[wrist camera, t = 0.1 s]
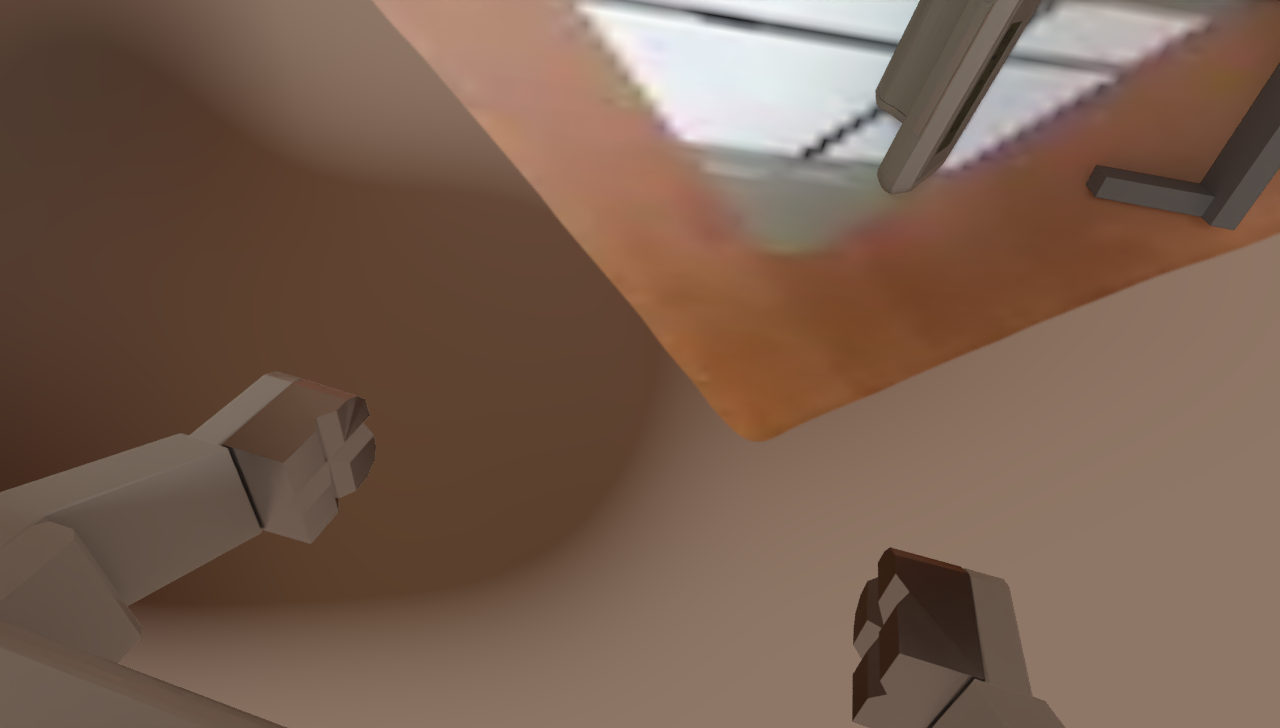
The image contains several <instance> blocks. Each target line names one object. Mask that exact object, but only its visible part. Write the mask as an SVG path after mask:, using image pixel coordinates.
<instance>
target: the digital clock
mask: <svg viewBox="0 0 1280 728" xmlns="http://www.w3.org/2000/svg"><path fill="white" fill-rule="evenodd" d="M1040 2H1041V0H920V1H919V3H918V5H917V7H916V9H915V11H914V14H913V16H912V18H911V20H910V22H909V24H908V26H907V28H906V30H905V32H904V34H903V36H902V38H901V40H900V42H899V44H898V46H897V48H896V50H895V52H894V54H893V56H892V58H891V60H890V62H889V64H888V66H887V68H886V71H885V73H884V75H883V77H882V79H881V81H880V83H879V85H878V87H877V89H876V103H877V105H878V107H879V108H881V109H882V110H884V111H886V112H888V113H890V114H891V115H893V116H894V117H895V118H897V119H898V120H899V121H900V122H902V123H903V124H902V125H901V127H900V129H899V131H898V133H897V135H896V137H895V139H894V140H893V142H892V144H891V146H890V148H889V150H888V152H887V154H886V156H885V157H884V159H883V161H882V163H881V165H880V167H879V169H878V179H879V182H880V184H881V187H882V188H883V189H884V190H885V191H886V192H888V193H890V194H897V193H903V192H907V191H911V190H912V189H913V188H915V187H916V186H917V185H918V184H920V183H921V182H922V181H923V180H925V179H926V178H927V177H928V176H929V175H931V174H932V173H933V172H934V171H936V170H937V169H938V168H939V167H940V166H941V165H942V164H943V163H944V161H945V160H946V158H947V157H948V155H949V154H950V152H951V150H952V149H953V147H954V145H955V144H956V142H957V140H958V139H959V137H960V135H961V134H962V132H963V130H964V129H965V127H966V125H967V124H968V122H969V120H970V119H971V117H972V115H973V114H974V112H975V110H976V109H977V107H978V105H979V104H980V102H981V100H982V99H983V97H984V95H985V94H986V92H987V90H988V89H989V87H990V85H991V84H992V82H993V80H994V79H995V77H996V75H997V74H998V72H999V70H1000V69H1001V67H1002V65H1003V64H1004V62H1005V60H1006V59H1007V57H1008V55H1009V54H1010V52H1011V50H1012V49H1013V47H1014V45H1015V44H1016V42H1017V40H1018V39H1019V37H1020V35H1021V34H1022V32H1023V30H1024V29H1025V27H1026V25H1027V24H1028V22H1029V20H1030V19H1031V17H1032V15H1033V14H1034V12H1035V10H1036V9H1037V7H1038V5H1039V4H1040Z"/></svg>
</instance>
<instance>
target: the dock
mask: <svg viewBox="0 0 1280 728" xmlns="http://www.w3.org/2000/svg"><path fill="white" fill-rule="evenodd" d="M1279 168H1280V64H1279V65H1278V67H1277V68H1276V70H1275V71H1274V73H1273V74H1272V76H1271V77H1270V79H1269V80H1268V82H1267V83H1266V85H1265V86H1264V88H1263V89H1262V91H1261V92H1260V94H1259V95H1258V97H1257V98H1256V100H1255V102H1254V103H1253V105H1252V106H1251V108H1250V109H1249V111H1248V112H1247V114H1246V115H1245V117H1244V118H1243V120H1242V121H1241V123H1240V124H1239V126H1238V127H1237V129H1236V130H1235V132H1234V133H1233V135H1232V136H1231V138H1230V140H1229V141H1228V143H1227V144H1226V146H1225V147H1224V149H1223V150H1222V152H1221V153H1220V155H1219V156H1218V158H1217V159H1216V161H1215V162H1214V164H1213V165H1212V167H1211V168H1210V170H1209V171H1208V173H1207V174H1206V176H1205V178H1204V179H1203V181H1202V182H1201V184H1198V183H1193V182H1187V181H1182V180H1176V179H1171V178H1165V177H1160V176H1154V175H1148V174H1143V173H1137V172H1132V171H1126V170H1121V169H1115V168H1110V167H1104V166H1099V165H1096V167H1095V169H1094V171H1093V173H1092V174H1091V176H1090V178H1089V180H1088V182H1087V184H1086V185H1087V187H1088V188H1089V189H1090V191H1091V192H1092V193H1093V195H1094V196H1095V197H1098V198H1103V199H1109V200H1114V201H1119V202H1125V203H1130V204H1135V205H1141V206H1146V207H1151V208H1157V209H1162V210H1167V211H1173V212H1178V213H1183V214H1189V215H1194V216H1199V217H1202V218H1203V219H1204V220H1205V221H1206V222H1207V223H1208V224H1209V225H1210V226H1215V227H1220V228H1226V229H1231V230H1235V228H1236V227H1237V226H1238V224H1239V223H1240V222H1241V220H1242V219H1243V217H1244V216H1245V215H1246V213H1247V212H1248V211H1249V209H1250V208H1251V206H1252V205H1253V204H1254V202H1255V201H1256V200H1257V198H1258V197H1259V195H1260V194H1261V193H1262V191H1263V190H1264V188H1265V187H1266V186H1267V184H1268V183H1269V182H1270V180H1271V179H1272V177H1273V176H1274V175H1275V173H1276V172H1277V171H1278V169H1279Z"/></svg>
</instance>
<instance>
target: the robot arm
mask: <svg viewBox="0 0 1280 728" xmlns="http://www.w3.org/2000/svg"><path fill="white" fill-rule="evenodd" d="M368 417H369V411H368V407H367V403H366V400H365V399H363V398H360V397H358V396H355V395H352V394H349V393H346V392H342V391H339V390H336V389H333V388H330V387H326V386H323V385H320V384H317V383H314V382H311V381H308V380H304V379H300V378H297V377H294V376H290V375H287V374H284V373H280V372H277V371H276V372H272V373H269V374H265V375H264V376H262V377H261V378H260V379H259V380H257V381H256V382H255V383H254V384H252V385H251V386H250V387H249V388H248V389H246V390H245V391H244V392H243V393H241V394H240V395H239V396H238V397H236V398H235V399H234V400H233V401H232V402H230V403H229V404H228V405H226V406H225V407H224V408H223V409H221V411H219V412H218V413H217V414H215V415H214V416H213V417H212V418H210V419H209V420H208V421H207V422H205V423H204V424H203V425H202V426H200V427H199V428H198V429H197V430H195V431H194V432H193V433H192V434H191V435H189V436H188V435H185V434H181V433H180V434H177V435H174V436H171V437H168V438H164V439H161V440H158V441H155V442H152V443H149V444H146V445H143V446H140V447H137V448H134V449H131V450H128V451H125V452H122V453H119V454H116V455H113V456H110V457H107V458H104V459H101V460H97V461H95V462H92V463H88V464H86V465H82V466H80V467H76V468H74V469H70V470H67V471H64V472H61V473H58V474H55V475H52V476H49V477H46V478H43V479H40V480H37V481H34V482H31V483H27V484H25V485H22V486H19V487H15V488H12V489H10V490H6V491H3V492H0V728H287V727H284V726H281V725H279V724H276V723H273V722H271V721H268V720H266V719H263V718H260V717H258V716H255V715H252V714H250V713H247V712H244V711H242V710H239V709H237V708H234V707H231V706H229V705H226V704H223V703H221V702H218V701H215V700H213V699H210V698H207V697H204V696H202V695H199V694H197V693H194V692H192V691H189V690H186V689H184V688H181V687H178V686H175V685H173V684H170V683H168V682H165V681H163V680H160V679H157V678H154V677H152V676H149V675H147V674H144V673H141V672H139V671H136V670H133V669H131V668H128V667H126V666H123V665H120V664H118V662H119V661H120V660H121V659H122V658H123V657H124V656H125V655H126V654H127V653H128V652H129V651H130V650H131V648H132V647H133V646H134V645H135V644H136V643H137V642H138V641H139V640H140V639H141V638H142V627H141V625H140V624H139V622H138V621H137V620H136V618H135V617H134V615H133V614H132V612H131V611H130V610H129V608H128V607H127V606H129V605H130V604H132V603H134V602H136V601H138V600H139V599H141V598H143V597H145V596H147V595H148V594H151V593H152V592H154V591H156V590H158V589H159V588H161V587H163V586H165V585H167V584H169V583H171V582H172V581H174V580H176V579H178V578H180V577H181V576H183V575H185V574H187V573H189V572H191V571H193V570H194V569H196V568H198V567H200V566H202V565H203V564H205V563H207V562H209V561H211V560H213V559H214V558H216V557H218V556H220V555H222V554H224V553H225V552H227V551H229V550H231V549H233V548H235V547H236V546H238V545H240V544H242V543H244V542H246V541H247V540H249V539H251V538H253V537H255V536H257V535H258V534H260V533H261V532H262V531H261V529H262V530H265V531H269V532H272V533H276V534H279V535H282V536H286V537H289V538H292V539H296V540H299V541H303V542H306V543H309V544H311V543H312V542H313V541H314V540H315V539H316V537H317V536H318V535H319V534H320V533H321V532H322V530H323V529H324V528H325V527H326V525H328V523H329V522H330V521H331V520H332V519H333V517H334V516H335V515H336V514H337V513H338V511H339V509H338V508H339V498H340V497H343V496H345V495H347V494H349V493H352V492H354V491H356V490H357V489H358V488H359V486H360V485H361V484H362V483H363V481H364V480H365V479H366V478H367V476H368V474H369V471H370V469H371V467H372V465H373V462H374V460H375V450H376V445H375V439H374V435H373V434H372V433H371V432H370V431H369V429H368V428H367V427H366V426H365V425H364V423H363V422H364V421H365V420H366V419H367V418H368ZM853 635H854V636H853V645H854V647H855V648H856V650H857V652H858V654H859V655H860V657H861V658H862V660H861V662H860V663H859V665H858V667H857V668H856V670H855V672H854V673H853V698H852V700H853V701H852V702H853V703H852V705H853V706H852V721H853V722H855V723H858V724H861V725H863V726H866V727H869V728H1065V726H1064V725H1063V724H1062V722H1061V721H1060V720H1059V718H1058V717H1057V716H1056V715H1055V713H1054V712H1053V711H1052V709H1051V708H1050V707H1049V705H1048V704H1047V703H1046V702H1045V701H1043V700H1041V699H1038V698H1035V697H1033V696H1032V692H1031V687H1030V682H1029V677H1028V672H1027V668H1026V663H1025V658H1024V654H1023V649H1022V645H1021V640H1020V635H1019V630H1018V626H1017V621H1016V616H1015V612H1014V607H1013V602H1012V598H1011V593H1010V589H1009V586H1008V584H1007V583H1006V582H1005V580H1004V579H1001V578H998V577H994V576H990V575H987V574H983V573H980V572H976V571H973V570H969V569H966V568H965V569H963V568H962V567H960V566H956V565H953V564H949V563H946V562H942V561H938V560H935V559H931V558H927V557H923V556H920V555H916V554H913V553H909V552H905V551H902V550H898V549H894V548H888V549H887V550H886V551H885V552H884V553H883V555H882V556H881V558H880V560H879V562H878V577H877V578H875V579H872V580H869V581H867V583H866V585H865V587H864V589H863V591H862V593H861V595H860V599H859V603H858V606H857V609H856V613H855V621H854V634H853Z"/></svg>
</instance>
